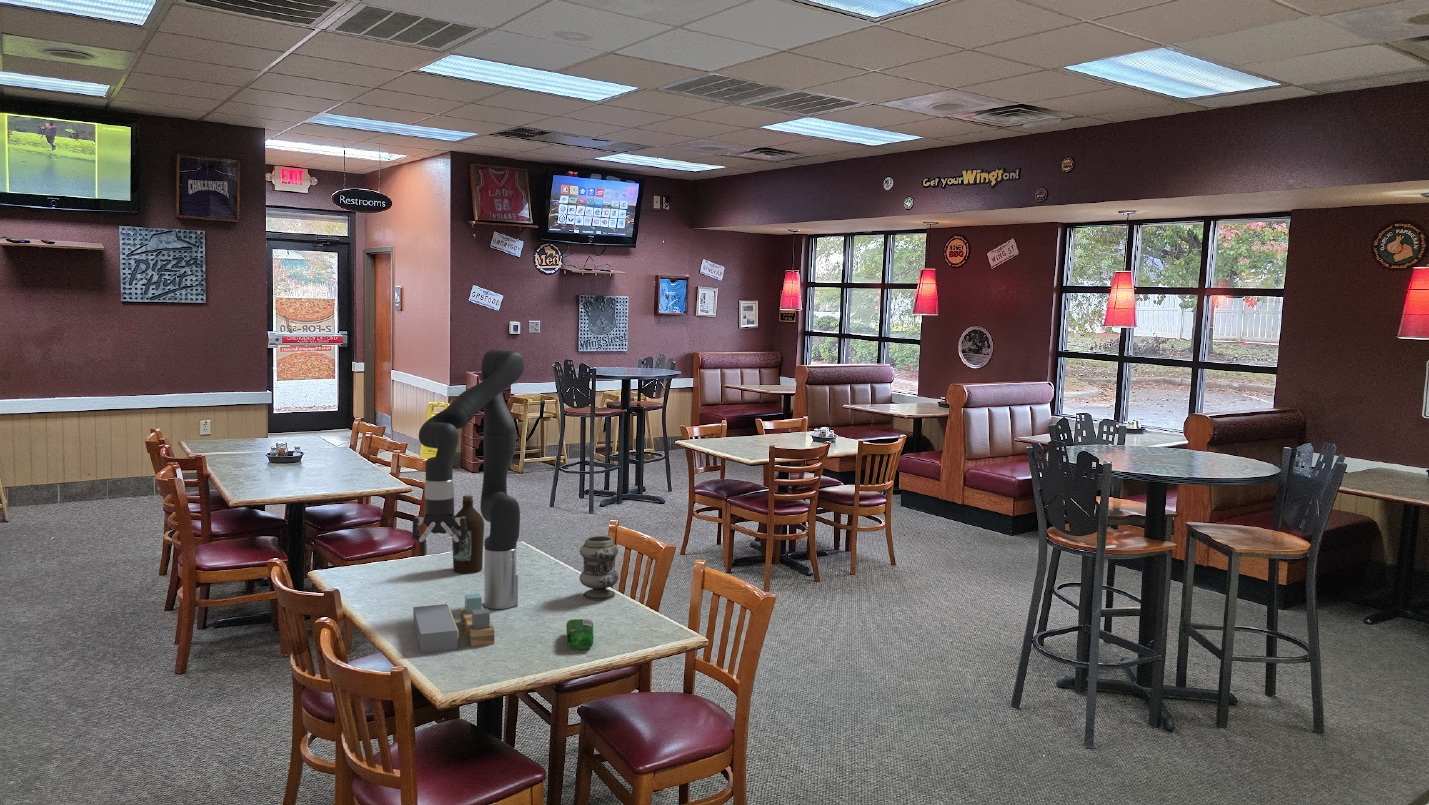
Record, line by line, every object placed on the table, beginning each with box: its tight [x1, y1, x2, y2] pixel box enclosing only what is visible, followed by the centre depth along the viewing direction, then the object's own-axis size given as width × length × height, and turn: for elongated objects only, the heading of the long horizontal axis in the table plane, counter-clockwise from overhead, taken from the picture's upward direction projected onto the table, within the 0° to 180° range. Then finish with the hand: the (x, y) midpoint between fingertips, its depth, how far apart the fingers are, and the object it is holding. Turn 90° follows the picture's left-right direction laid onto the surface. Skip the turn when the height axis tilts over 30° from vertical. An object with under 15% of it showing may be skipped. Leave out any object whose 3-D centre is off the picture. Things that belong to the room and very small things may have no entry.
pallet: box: [459, 605, 495, 647], centre depth 258 cm, size 21×6×4 cm, turn 22°
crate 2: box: [472, 607, 491, 629], centre depth 252 cm, size 4×4×4 cm
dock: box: [412, 603, 460, 654], centre depth 254 cm, size 9×23×5 cm, turn 22°
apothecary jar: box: [578, 535, 620, 601], centre depth 293 cm, size 12×12×18 cm
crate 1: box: [464, 593, 483, 613], centre depth 265 cm, size 4×4×4 cm
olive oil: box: [451, 494, 485, 574], centre depth 318 cm, size 11×11×25 cm
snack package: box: [566, 618, 594, 650], centre depth 253 cm, size 7×16×5 cm, turn 8°
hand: (440, 554), depth 259 cm, fingers open, 8 cm apart
